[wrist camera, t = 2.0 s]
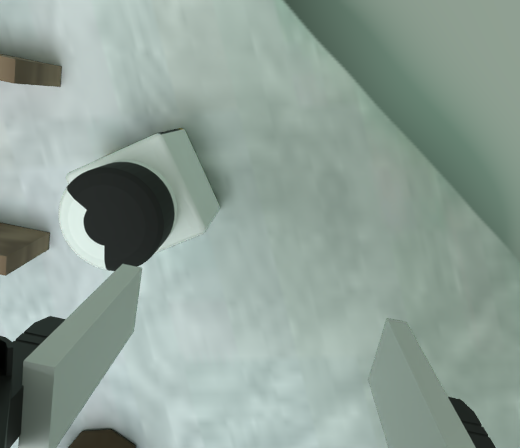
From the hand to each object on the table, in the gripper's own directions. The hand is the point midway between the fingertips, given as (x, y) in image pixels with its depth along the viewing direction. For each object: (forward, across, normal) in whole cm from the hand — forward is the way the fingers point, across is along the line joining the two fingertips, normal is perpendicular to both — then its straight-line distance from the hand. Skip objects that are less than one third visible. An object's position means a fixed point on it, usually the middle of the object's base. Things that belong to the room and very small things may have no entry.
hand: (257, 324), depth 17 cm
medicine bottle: (+20, +9, 0) cm, 22 cm away
